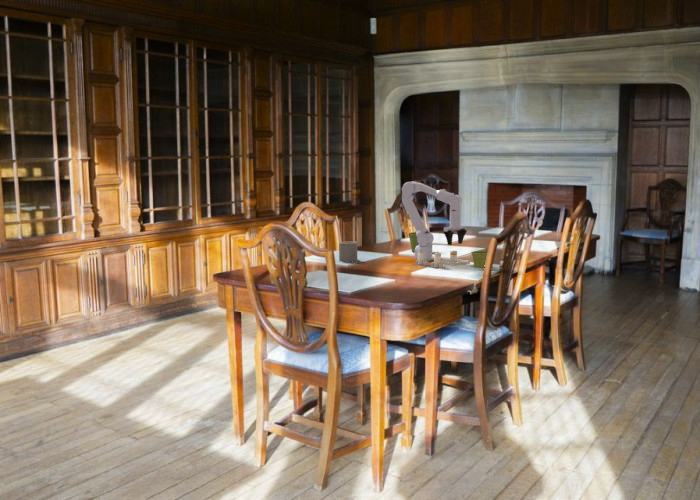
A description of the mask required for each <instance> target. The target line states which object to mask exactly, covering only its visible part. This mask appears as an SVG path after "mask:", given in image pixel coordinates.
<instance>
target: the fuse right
mask: <svg viewBox="0 0 700 500" xmlns="http://www.w3.org/2000/svg"><path fill="white" fill-rule="evenodd" d="M441 260H442V253H441V252H434V253H433V262H434V268H433V269H435V268H439V264H441Z"/></svg>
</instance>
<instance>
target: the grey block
mask: <svg viewBox="0 0 700 500" xmlns="http://www.w3.org/2000/svg"><path fill="white" fill-rule="evenodd" d="M338 260H339V262H341V261H342V262H343V263H351V262H350V261H355V262H357V261H358V241H349V240H348V241H347V240H346V241H340V242H338ZM342 262H341V263H342Z"/></svg>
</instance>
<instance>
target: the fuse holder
mask: <svg viewBox="0 0 700 500" xmlns="http://www.w3.org/2000/svg"><path fill="white" fill-rule="evenodd" d="M429 263H430V264H429ZM411 265H412V266H418V267H424V268H430V269H435V270H439V269H446V268H448V267H447V266H444V264H439V268H434V261H432V262H429V261H422V265H418V260H417V259H415V263H412V264H411Z"/></svg>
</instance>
